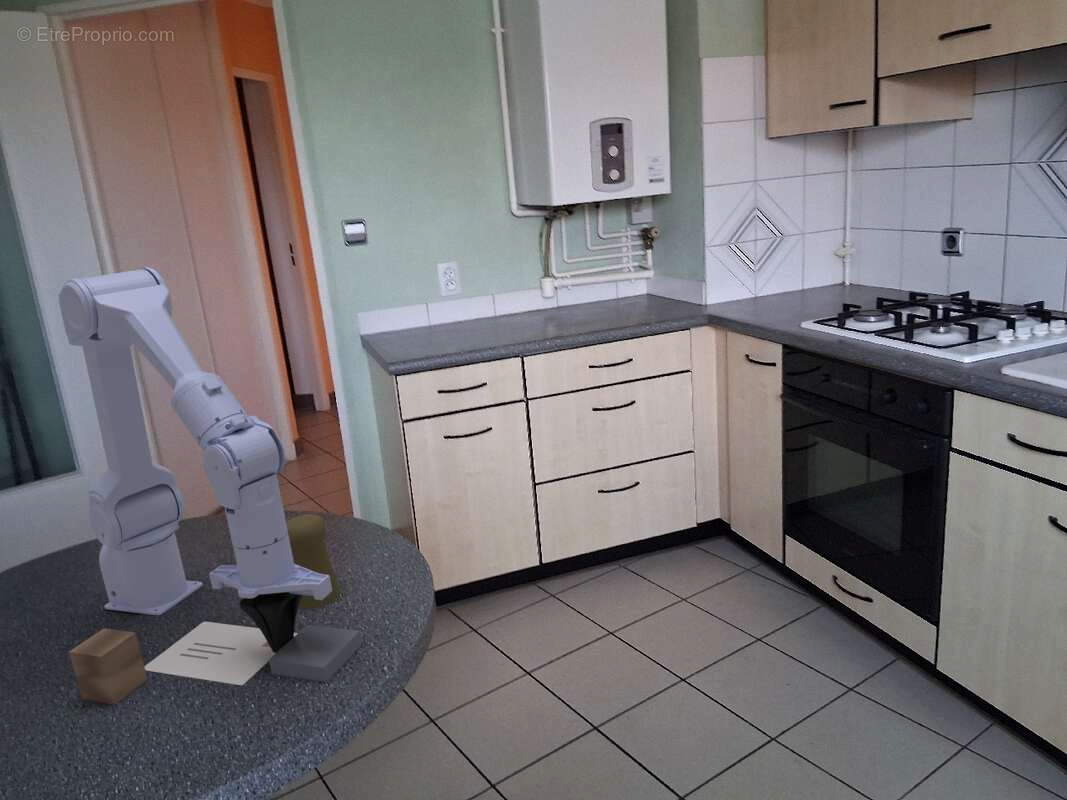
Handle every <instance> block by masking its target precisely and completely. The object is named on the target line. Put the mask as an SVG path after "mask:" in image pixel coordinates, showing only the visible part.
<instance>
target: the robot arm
mask: <svg viewBox="0 0 1067 800" xmlns="http://www.w3.org/2000/svg"><path fill="white" fill-rule="evenodd" d="M172 303H173V302H172V298H171V292H170V290H169V288H168V285H167V282H166V281H165V280H164V278H163V277H162V275H160V273H158V272H157V270H155V269H154V268H151V267H148V266H145V267H142V268H140V269H135V270H130V271H128V270H127V271H121V272H116V273H109V274H103V275H95V276H89V277H84V278H82V277H81V278H76V277H75V278H69V279H67V280H66V281H65V282H64V284H63V286H62V287H61V290H60V292H59V294H58V304H59V308H60V313H61V317H62V322H63V326H64V327H63V328H64V332H65V335H66V337H67V339H68V341H67V342H68V344H69V345H70V346H78V347H82V350H83V356H84V360H85V364H86V370H87V373H88V378H89V383H90V389H91V392H92V398H93V402H94V406H95V410H96V411H95V413H96V415H97V420H98V421H97V422H98V426H99V430H100V436H101V440H102V443H103V444H102V445H103V448H104V449H103V450H104V454H105V459H106V463H107V469H106V470H105V472H103V473H102V475H101V476H100V477H99V478H98V479H97V480H96V481H95V482H94V484H92V486H90V488H89V489H88V491H87V492H88V501H89V510H88V517H89V518H88V519H89V524H90V527H91V529H92V532H93V534H94V535H95V537H96V538H97V540H98V541H99V543H101V544H102V547H101V548H100V551H99V555H98V557H99V558H98V564H99V568H100V572H101V576H102V579H103V583H104V586H105V591H106V593H107V598H108V601H109V602H107V603H106V604H105V605H104V609H105V610H111V611H119V612H124V613H125V612H127V613H134V614H141V615H142V614H144V615H149V616H150V615H151V616H152V615H153V616H160V615H163V614H164V613H166V612H167V611H169V610H170V609H172V608H173V607H174V606H176V605H177V604H179V603H181V602H182V601H183V600H185V599H186V598H187V597H188V596H190V595H191V594H193V593H194V592H196V591H197V590H199V589H200V588H201V587H203V585H204V584H203V582H202V581H196V580H195V581H194V580H187V578H186V574H185V570H184V566H183V562H182V561H183V560H182V558H181V554H180V548H179V545H178V539H177V537H176V532H175V531H177V530H179V528H180V526H179V522H180V521H181V520H182V518H183V516H184V512H185V502H184V497H183V495H182V492H181V491H180V489H179V487H178V485H177V482H176V479H175V478H176V477H175V475H174V473H173V472H172V471H171V470H169V469H168V468H167V467H165V466H163V465H161V464H158V463H155V462H153V460H152V459H153V458H152V454H151V448H150V443H149V439H148V438H149V437H148V433H147V427H146V423H145V417H144V411H143V407H142V402H141V397H140V392H139V385H138V380H137V376H136V375H137V374H136V370H135V365H134V360H133V355H132V350H131V349H132V345H133V346H134V347H136V348H137V349H138V351H139V352H140V353H141V354H142V356H143V357H145V359H146V360H147V361H148V363H150V365H151V366H152V367H153V368H154V369H155V370H156V371H157V373H158V374H159V375H160V376H161V377H162V378H163V380H164V381H165V382H166V383H167V384H168V385H169V386H170V388H171V389H172V390H173V392H172V394H171V396H170V397H171V399H170V406H171V407H172V409H173V411H174V412H175V414H177V416H178V417H179V419H180V421H181V422H182V423H183V425H184V426H185V427H186V429H187V431H189V433H190V435H191V436H192V438H193V439H194V440H195V441H196V443H197V444H198V445H199V447H200V448H201V450H202V451H203V455H202V456H203V461H202V466H203V469H204V472H205V475H206V477H207V479H208V481H209V483H211V485H212V487H213V489H214V494H215V498H216V500H217V501H218V504H219V506H222V507H224V511H225V516H226V517H225V518H226V522H227V525H228V530H229V534H230V539H231V544H232V548H233V552H234V553H233V554H234V558H235V561H236V564H233V565H223V564H222V565H219V566H218V567H216V568H215V569H213V570H212V571H211V572H209V574H208V575H209V579H210V583H211V588H212V589H213V590H221V589H223V588H224V587H226V588H234V589H235V590H237V593H238V598H242V599H241V600H240V601H239V608H240V610H242V611H243V612H245V614H247V616H248V617H250V619H251V620H252V621H253V622H254V623H255V624H256V626H257V628H259V629H260V630H261V632H262V633H263V635H264V637H265V638H266V640H267V642H268V644H269V646H270V648H271V649H272V651H273V653H277V652H278V651H279V650H280V649H281V648H282V647H283V646H285V645H286V644H287V643H288V642H289V641H290V640H291V639H292V638H293V637H294V633H295V627H296V619H297V613H298V609H299V608H298V606H299V603H300V600H301V597H302V595H311V596H314V599H316V600H323V599H324V598H325V597H326V596H327V595H329V593H331V592H332V586H331V581H330V576H329V575H324V574H319V573H316V572H314V571H311V570H309V569H306V568H304V567H301V566H299V565H296V564H294V561H293V556H292V551H291V546H290V541H289V535H288V530H287V525H286V522H287V521H286V516H285V512H284V511H285V510H284V505H283V501H282V496H281V491H280V485H279V480H278V476H277V474H278V473H280V472H281V471H282V470H283V468H284V465H285V459H286V456H285V450H284V446H283V442H282V441H281V438H280V437H279V435H278V434H277V432H276V431H275V428H273V426H271V425H270V424H269V423H267V422H265V421H261V420H260V419H259V418H258V417H257V416H255V415H248V413H247V411H246V410H245V409H244V408H243V407H242V405H241V403H240V402H239V401H238V400H237V398H236V397H235V395H233V393H232V392H231V390H230V388H229V387H228V386H227V384H225V382H224V381H223V379H222V378H221V376H219V374H216V373H213V372H205V371H203V369H202V368H201V367H202V366H200V364H199V362H198V361H197V360H196V358H195V355H194V354H193V352H192V350H191V349H190V348H189V345H188V344H187V342H186V341H185V339H184V337H183V335H182V334H181V333H180V331H179V329H178V327H177V326H176V324H175V322H174V320H173V319H172V316H173V315H172V314H173V305H172Z"/></svg>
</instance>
